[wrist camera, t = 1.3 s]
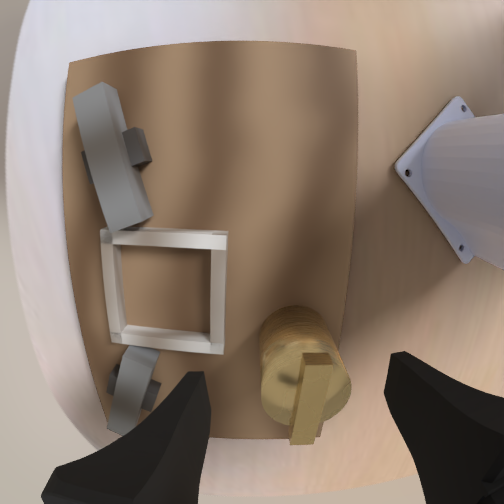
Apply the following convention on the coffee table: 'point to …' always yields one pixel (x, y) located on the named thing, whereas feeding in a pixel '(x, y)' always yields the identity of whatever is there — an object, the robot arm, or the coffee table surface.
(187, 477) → the robot arm
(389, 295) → the coffee table surface
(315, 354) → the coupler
